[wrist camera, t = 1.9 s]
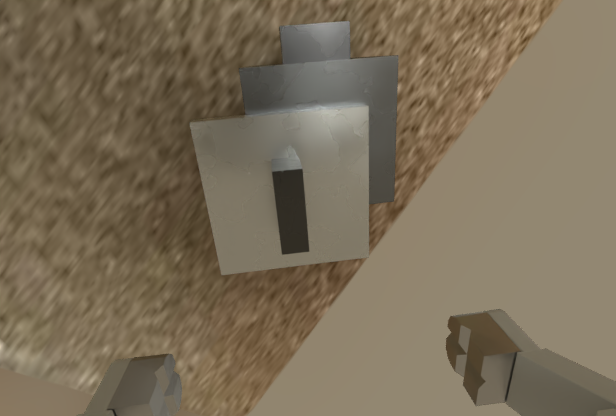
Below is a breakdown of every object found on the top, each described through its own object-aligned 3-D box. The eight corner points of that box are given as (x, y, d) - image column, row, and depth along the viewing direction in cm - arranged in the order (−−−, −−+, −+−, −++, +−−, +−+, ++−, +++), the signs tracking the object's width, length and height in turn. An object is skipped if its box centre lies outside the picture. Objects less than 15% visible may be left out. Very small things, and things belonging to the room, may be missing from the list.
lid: (193, 119, 20) (178, 130, 16) (364, 103, 20) (382, 111, 17) (223, 266, 24) (216, 299, 20) (365, 249, 24) (380, 278, 21)
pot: (243, 37, 25) (232, 27, 18) (362, 28, 26) (399, 15, 19) (265, 199, 30) (263, 243, 23) (363, 188, 31) (393, 227, 24)
